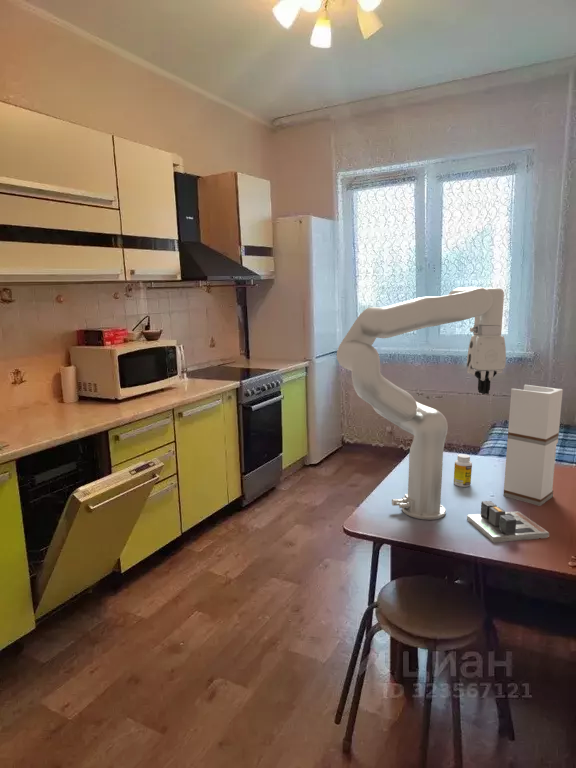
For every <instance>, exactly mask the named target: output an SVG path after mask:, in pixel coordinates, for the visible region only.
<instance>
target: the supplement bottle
mask: <svg viewBox="0 0 576 768" xmlns="http://www.w3.org/2000/svg"><path fill="white" fill-rule="evenodd" d="M453 468H454V470H453V484H454V485H455V486H457V487H460V488H467V487H469V486H470V485H471V482H472V471H473V470H472V468H473V462H472V461H471V456H470V455H469V454H467V453H459V454H458V455H457V459H456V460H454V467H453Z"/></svg>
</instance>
